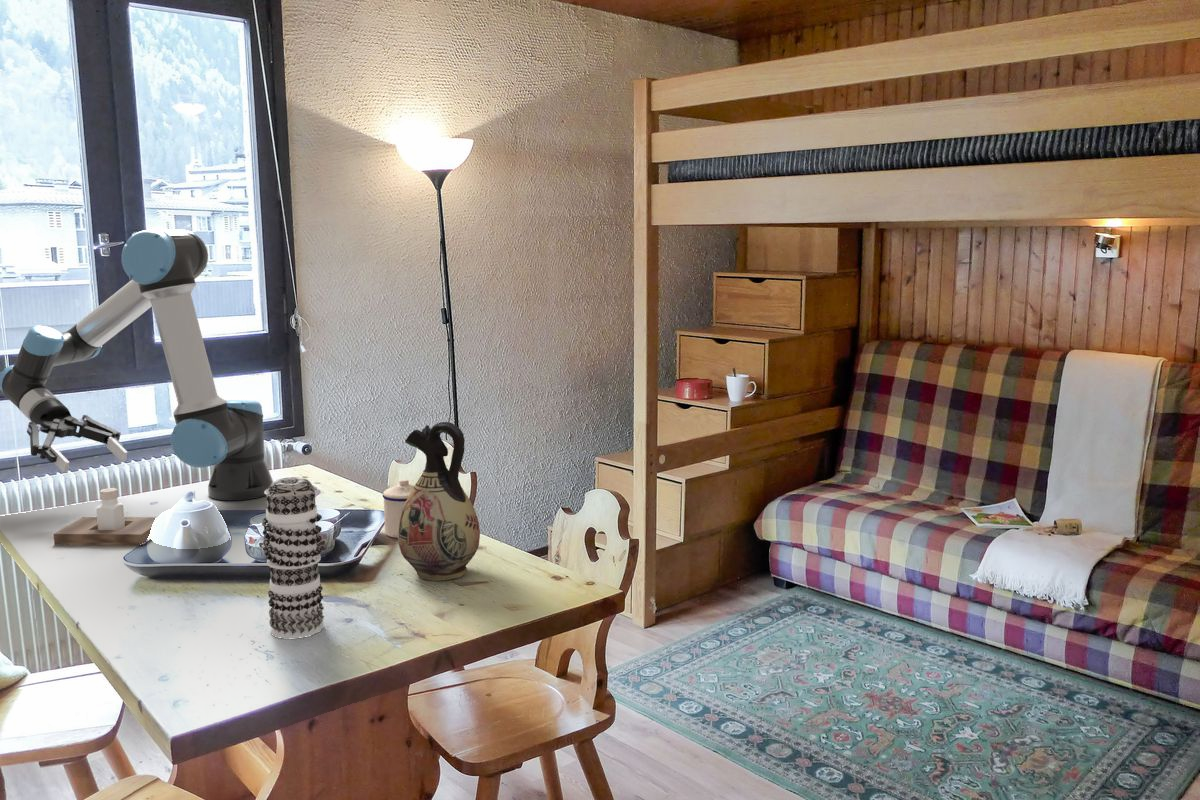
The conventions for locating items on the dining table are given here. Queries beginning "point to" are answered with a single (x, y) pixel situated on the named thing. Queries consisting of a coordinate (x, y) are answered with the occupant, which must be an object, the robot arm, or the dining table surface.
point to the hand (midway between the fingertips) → (96, 462)
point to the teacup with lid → (395, 505)
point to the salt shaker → (110, 511)
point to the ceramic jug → (438, 510)
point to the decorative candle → (293, 558)
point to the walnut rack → (105, 532)
